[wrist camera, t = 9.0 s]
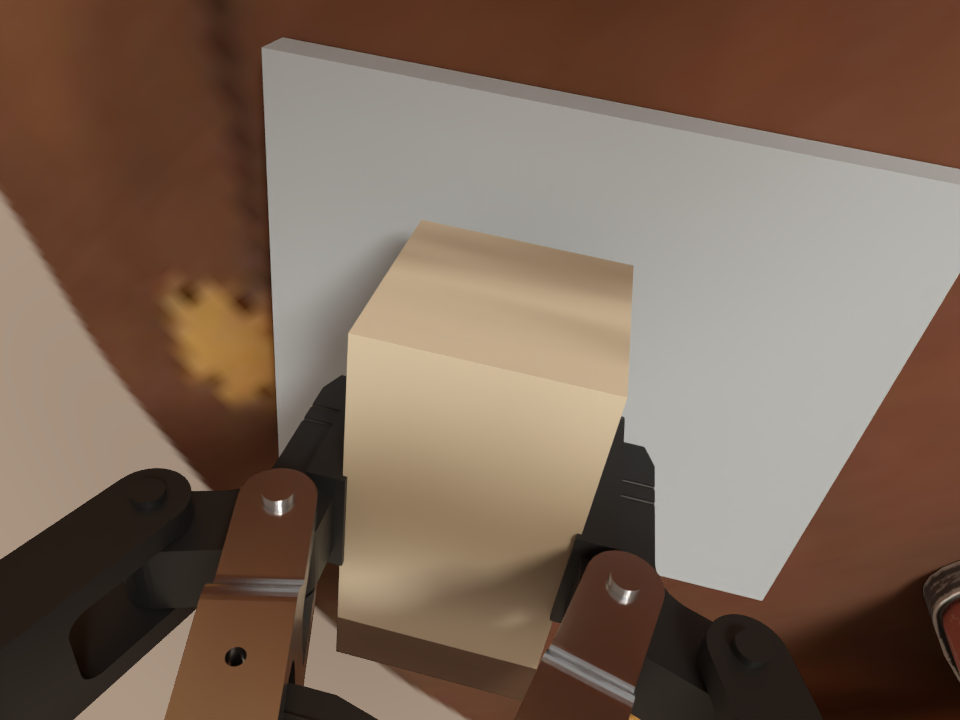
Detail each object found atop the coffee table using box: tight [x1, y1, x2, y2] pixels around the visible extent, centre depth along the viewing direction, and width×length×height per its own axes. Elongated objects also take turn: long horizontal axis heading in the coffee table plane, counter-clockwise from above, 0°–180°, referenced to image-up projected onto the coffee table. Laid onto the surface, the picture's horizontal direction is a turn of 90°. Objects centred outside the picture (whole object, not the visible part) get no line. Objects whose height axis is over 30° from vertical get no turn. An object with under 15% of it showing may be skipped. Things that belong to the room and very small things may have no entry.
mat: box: [262, 37, 960, 601], centre depth 17 cm, size 14×12×1 cm
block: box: [336, 220, 634, 701], centre depth 14 cm, size 8×4×4 cm, turn 172°
